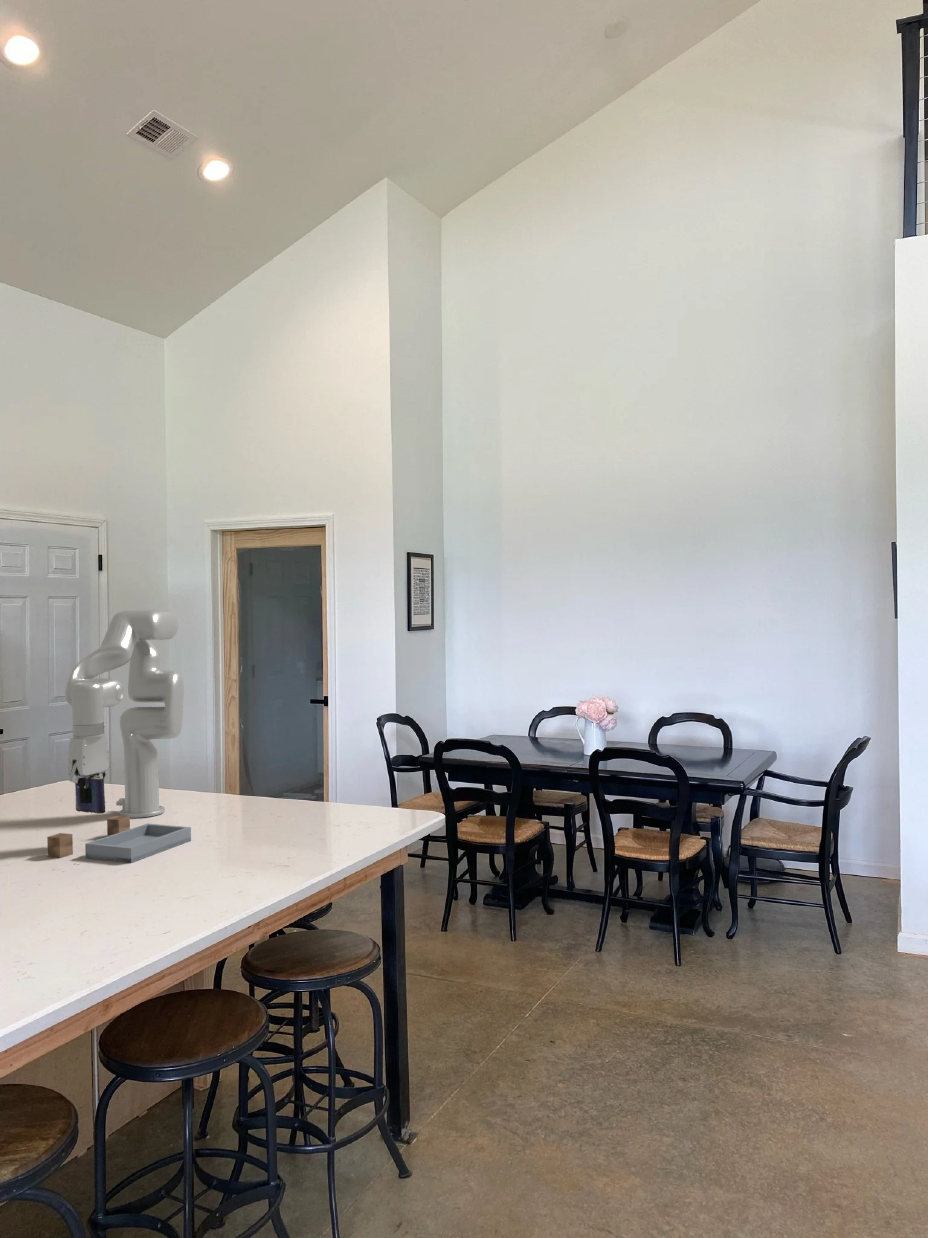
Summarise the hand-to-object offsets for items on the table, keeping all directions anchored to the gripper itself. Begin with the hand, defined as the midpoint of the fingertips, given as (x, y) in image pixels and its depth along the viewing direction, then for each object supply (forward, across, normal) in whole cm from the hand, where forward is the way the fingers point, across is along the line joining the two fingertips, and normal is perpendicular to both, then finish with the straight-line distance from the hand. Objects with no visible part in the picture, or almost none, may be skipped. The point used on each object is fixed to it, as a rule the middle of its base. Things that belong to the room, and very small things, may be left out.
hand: (90, 800), depth 235 cm
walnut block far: (+12, -9, 0) cm, 15 cm away
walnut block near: (+11, +11, 0) cm, 16 cm away
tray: (+11, 0, +15) cm, 19 cm away
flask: (+3, 0, 0) cm, 3 cm away
